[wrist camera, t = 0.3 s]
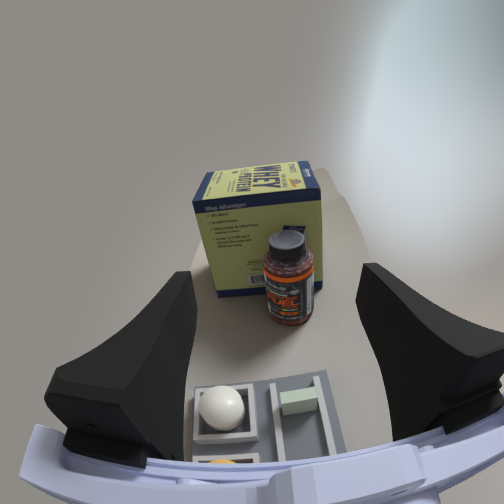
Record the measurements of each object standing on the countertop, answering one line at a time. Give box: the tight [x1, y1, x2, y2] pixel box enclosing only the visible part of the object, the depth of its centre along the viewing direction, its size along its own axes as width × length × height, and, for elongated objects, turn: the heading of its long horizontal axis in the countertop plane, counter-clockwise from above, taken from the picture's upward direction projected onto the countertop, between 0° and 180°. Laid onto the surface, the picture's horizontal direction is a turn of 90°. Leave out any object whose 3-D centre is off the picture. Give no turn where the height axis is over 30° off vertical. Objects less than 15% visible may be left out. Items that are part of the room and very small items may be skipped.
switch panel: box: [191, 370, 346, 463], centre depth 22 cm, size 16×14×3 cm
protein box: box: [192, 161, 323, 297], centre depth 42 cm, size 10×16×16 cm
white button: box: [198, 386, 245, 431], centre depth 24 cm, size 4×4×2 cm
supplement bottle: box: [263, 230, 314, 325], centre depth 36 cm, size 6×6×11 cm
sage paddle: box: [280, 387, 317, 416], centre depth 25 cm, size 1×3×3 cm, turn 93°
